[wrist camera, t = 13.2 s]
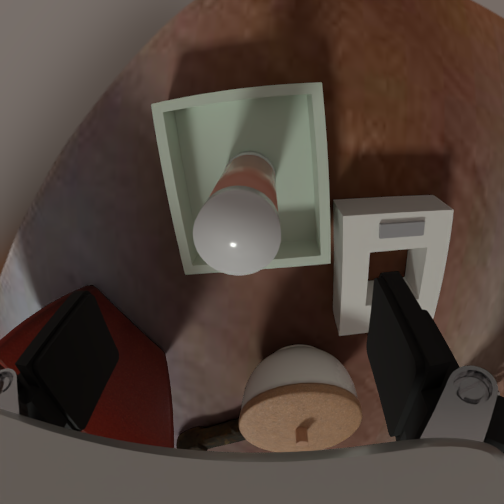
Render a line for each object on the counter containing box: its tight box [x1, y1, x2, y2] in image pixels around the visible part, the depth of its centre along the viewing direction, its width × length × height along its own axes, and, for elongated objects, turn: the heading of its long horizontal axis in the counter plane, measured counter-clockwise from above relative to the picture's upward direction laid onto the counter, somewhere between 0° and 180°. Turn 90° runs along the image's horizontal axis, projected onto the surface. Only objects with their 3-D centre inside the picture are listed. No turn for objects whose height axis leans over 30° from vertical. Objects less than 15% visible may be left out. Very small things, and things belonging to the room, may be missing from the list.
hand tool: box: [176, 419, 246, 451], centre depth 42 cm, size 19×4×5 cm, turn 121°
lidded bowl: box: [239, 344, 362, 452], centre depth 32 cm, size 13×13×11 cm
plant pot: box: [0, 285, 174, 448], centre depth 29 cm, size 19×19×17 cm
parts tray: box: [151, 82, 331, 275], centre depth 25 cm, size 12×14×4 cm
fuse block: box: [333, 195, 454, 336], centre depth 27 cm, size 10×12×4 cm
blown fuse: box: [193, 151, 281, 275], centre depth 20 cm, size 4×4×12 cm
